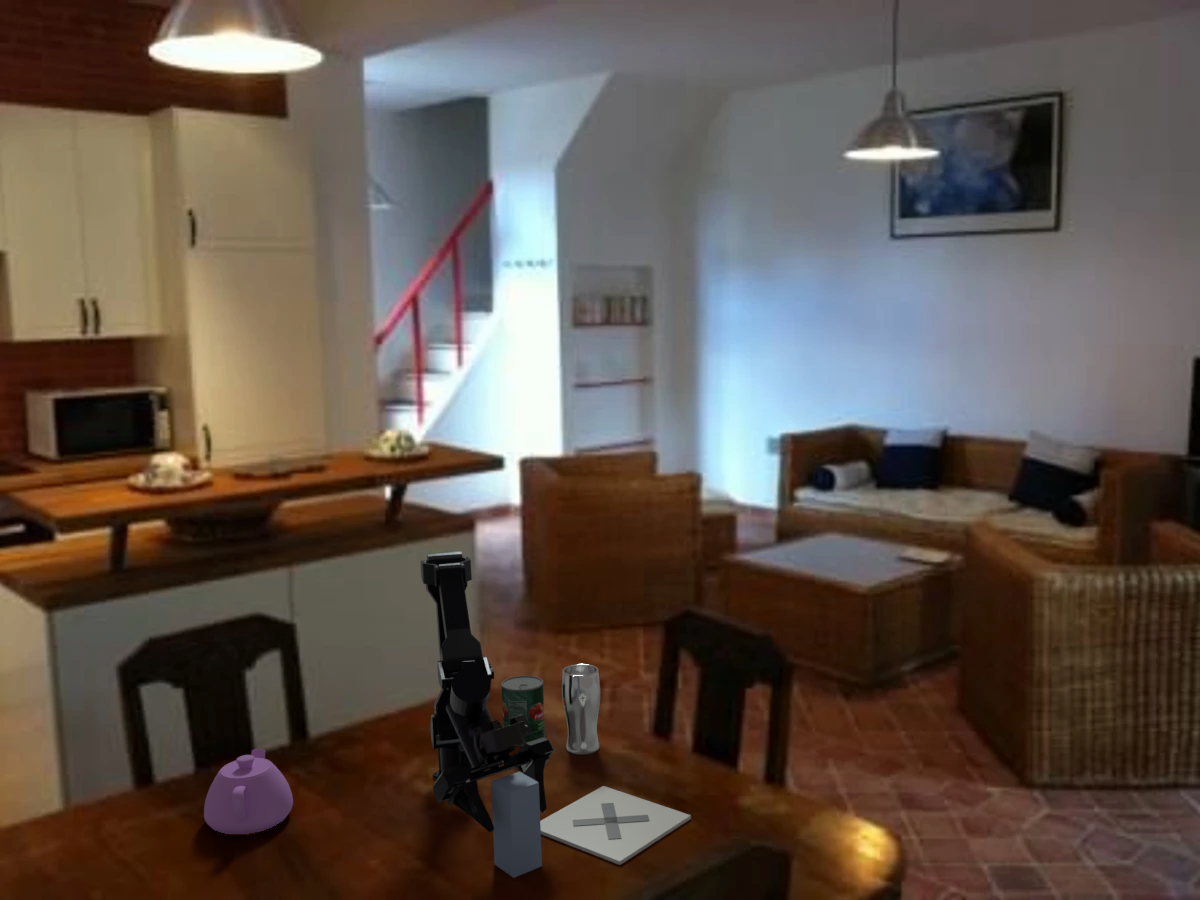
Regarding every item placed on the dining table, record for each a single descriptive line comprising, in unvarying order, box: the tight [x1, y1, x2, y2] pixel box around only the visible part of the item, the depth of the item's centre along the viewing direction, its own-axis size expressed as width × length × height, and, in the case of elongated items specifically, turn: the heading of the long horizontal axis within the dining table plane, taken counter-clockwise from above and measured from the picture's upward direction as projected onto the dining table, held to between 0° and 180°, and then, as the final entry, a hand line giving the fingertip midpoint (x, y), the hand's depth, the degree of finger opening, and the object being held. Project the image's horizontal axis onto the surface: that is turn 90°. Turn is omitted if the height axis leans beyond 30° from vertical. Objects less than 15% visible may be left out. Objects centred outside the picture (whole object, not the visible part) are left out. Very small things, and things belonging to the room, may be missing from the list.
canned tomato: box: [500, 675, 546, 747], centre depth 211 cm, size 8×8×11 cm
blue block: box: [490, 771, 543, 878], centre depth 164 cm, size 5×5×13 cm
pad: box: [540, 785, 692, 866], centre depth 177 cm, size 18×18×1 cm
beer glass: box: [561, 663, 601, 755], centre depth 206 cm, size 7×7×15 cm
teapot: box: [203, 748, 294, 834], centre depth 182 cm, size 14×20×11 cm
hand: (518, 820), depth 163 cm, fingers open, 9 cm apart
